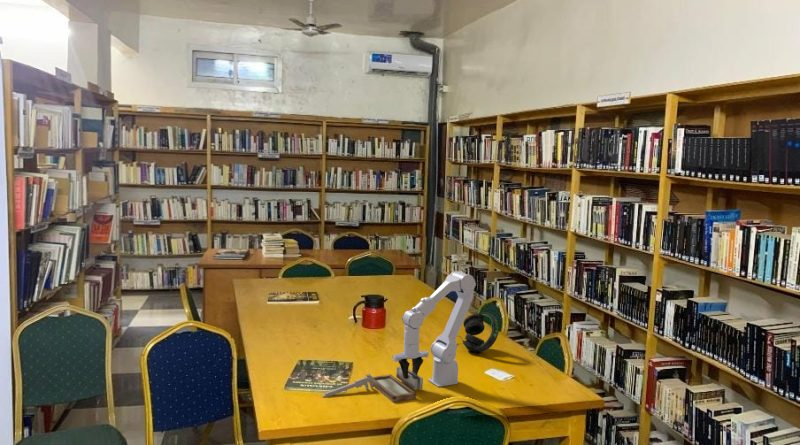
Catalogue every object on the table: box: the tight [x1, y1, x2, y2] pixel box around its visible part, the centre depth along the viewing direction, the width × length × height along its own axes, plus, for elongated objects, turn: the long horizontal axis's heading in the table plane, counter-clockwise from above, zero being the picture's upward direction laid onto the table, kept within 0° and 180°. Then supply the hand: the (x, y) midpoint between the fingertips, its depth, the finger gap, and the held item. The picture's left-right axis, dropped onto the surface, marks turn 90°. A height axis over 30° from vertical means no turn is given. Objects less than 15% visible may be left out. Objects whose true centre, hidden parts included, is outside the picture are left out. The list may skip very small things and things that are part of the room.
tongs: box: [395, 365, 424, 391], centre depth 228 cm, size 3×14×5 cm, turn 28°
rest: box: [372, 374, 417, 403], centre depth 224 cm, size 9×20×2 cm, turn 28°
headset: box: [458, 311, 500, 353], centre depth 277 cm, size 18×14×29 cm
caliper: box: [321, 372, 374, 398], centre depth 220 cm, size 20×1×6 cm, turn 121°
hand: (409, 377), depth 227 cm, fingers closed on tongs, 3 cm apart
